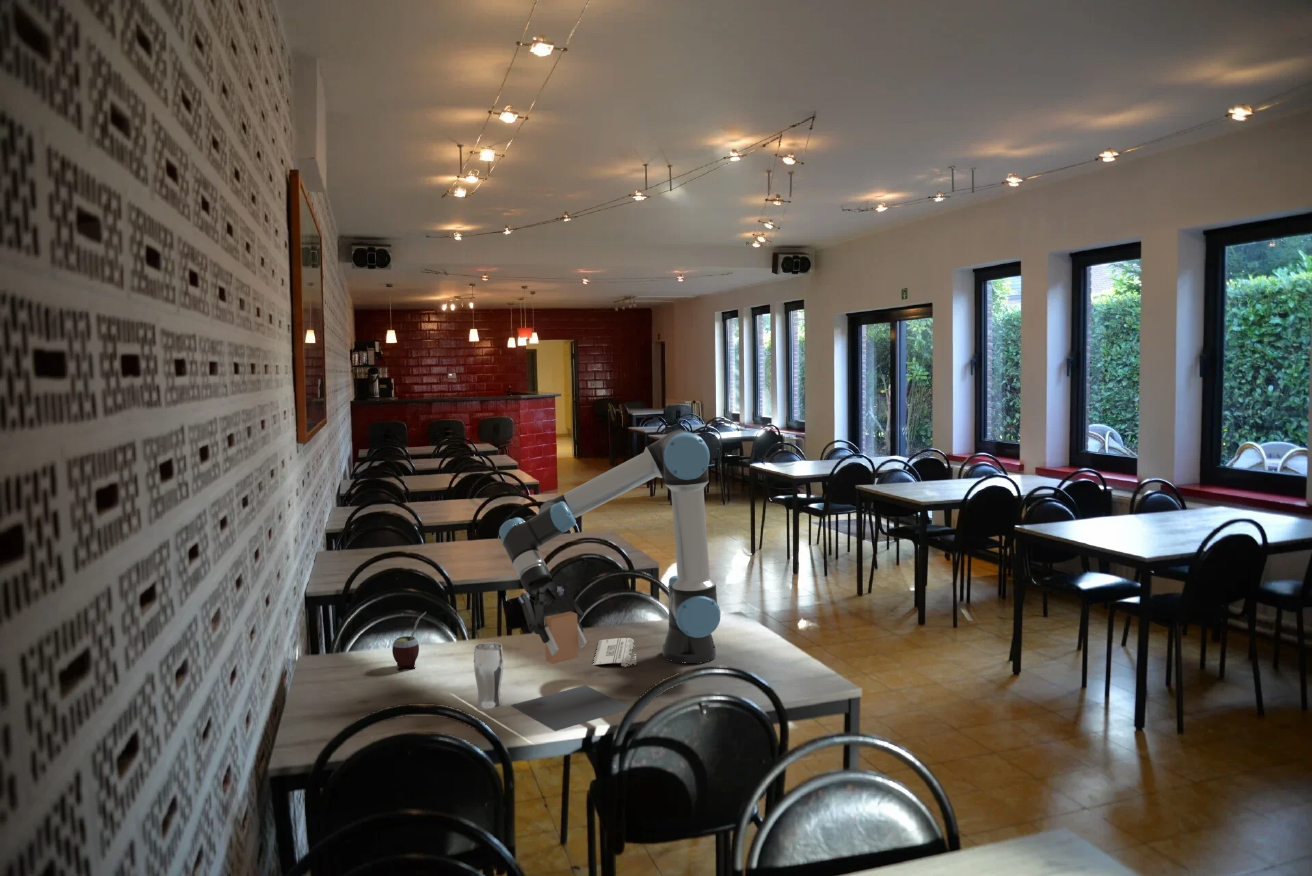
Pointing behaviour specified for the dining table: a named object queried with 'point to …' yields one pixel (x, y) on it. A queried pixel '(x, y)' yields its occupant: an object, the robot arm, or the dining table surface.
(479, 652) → the beer glass
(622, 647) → the newspaper
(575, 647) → the card deck box
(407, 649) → the mate gourd
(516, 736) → the dining table surface
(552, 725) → the rubber mat
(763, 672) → the dining table surface
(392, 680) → the dining table surface
